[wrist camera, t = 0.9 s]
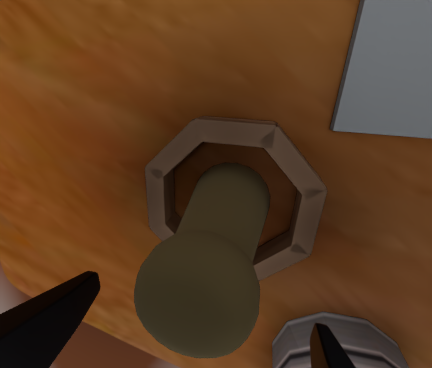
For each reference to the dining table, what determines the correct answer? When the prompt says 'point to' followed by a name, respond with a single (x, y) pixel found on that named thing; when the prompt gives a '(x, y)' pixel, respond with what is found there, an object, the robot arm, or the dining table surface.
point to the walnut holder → (245, 136)
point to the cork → (207, 267)
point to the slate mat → (388, 71)
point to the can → (347, 337)
